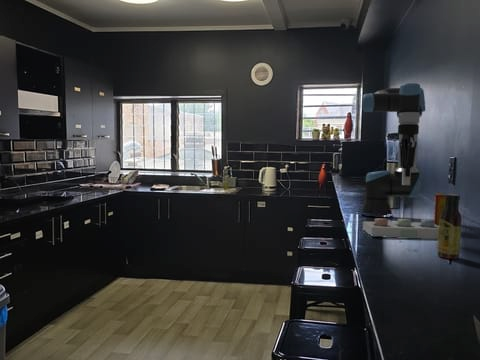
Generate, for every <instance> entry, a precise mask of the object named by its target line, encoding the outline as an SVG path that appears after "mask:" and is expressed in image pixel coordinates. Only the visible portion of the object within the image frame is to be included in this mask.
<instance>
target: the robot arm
mask: <svg viewBox="0 0 480 360" xmlns="http://www.w3.org/2000/svg"><path fill="white" fill-rule="evenodd" d="M425 99H426V98H425V91H424V89H423V87H421V84H420V83H416V82H409V83H408V82H407V83H403V84H402V83H401V84H400V86H399V87H389V88H384V89H380V90H378V91H375V92H374V93H371V92H370V93H365V94H363V95H362V102H361V103H362V105H361V107H362V111H363V112H364V113H368V112H369V113H374V112H375V113H379V112H381V113H382V112H383V113H384V112H388V113H389V112H391V113H396V118H397V119H398V126H397V134H398V154H397V155H398V156H397V167H396V168H395V169H394V173H391V170H380V171H379V170H378V171H377V170H376V171H371V172H367V174H366V177H365V193H364V194H365V196H364V197H365V199H364V202H363V205H362V208H361V211H362V212H364V213H370V214H381V215H387V214H392V215H393V212H392V209H391V205H390V197H396V198H397V197H400V198H417V197H419V195H420V191H421V185H422V180H423V175H422V174H421V173H420V170H419V169H418V168H417V157H418V155H417V154H418V136H419V133H420V132H419V130H420V129H419V128H420V126H419V123H420V118H421V117H422V116H423V113H424V112H426V101H425Z"/></svg>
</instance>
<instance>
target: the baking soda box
mask: <svg viewBox="0 0 480 360" xmlns="http://www.w3.org/2000/svg"><path fill="white" fill-rule="evenodd" d="M446 194H447V193H443V192H442V193H440V192H439V193H438V192H435V193H434V201H433V203H434V204H433V219H432V220H435V225H438V226H439V221H440V217H441V215H442V213H443V211H444V208H445V201H446V199H445V195H446Z"/></svg>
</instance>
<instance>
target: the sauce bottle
mask: <svg viewBox="0 0 480 360" xmlns="http://www.w3.org/2000/svg"><path fill="white" fill-rule="evenodd" d="M445 194H446V195H445V199H446V201H445V208H444V211H443V213H442V215H441V217H440V221H439V235H438V239H437V256H438V257H439V258H443V259H445V260H447V259H448V260H457V259H459V257H460V255H459V254H460V251H461V250H460V249H461V239H462V238H461V237H462V236H461V235H462V221H463V220H462V219H463V218H462V215H461V212H460V211H459V203H460V199H461V195H460V194H457V193H456V194H455V193H445Z"/></svg>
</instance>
